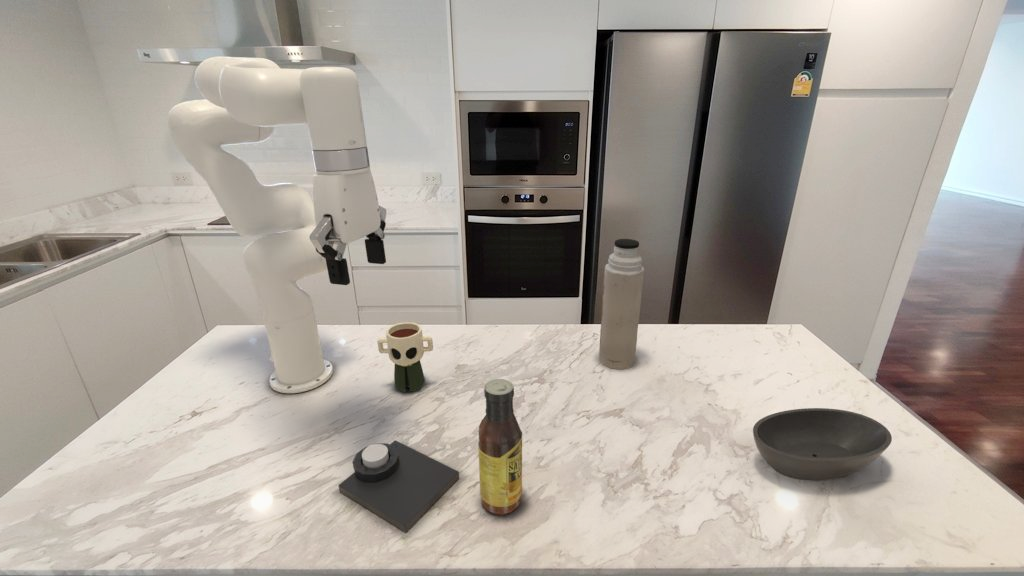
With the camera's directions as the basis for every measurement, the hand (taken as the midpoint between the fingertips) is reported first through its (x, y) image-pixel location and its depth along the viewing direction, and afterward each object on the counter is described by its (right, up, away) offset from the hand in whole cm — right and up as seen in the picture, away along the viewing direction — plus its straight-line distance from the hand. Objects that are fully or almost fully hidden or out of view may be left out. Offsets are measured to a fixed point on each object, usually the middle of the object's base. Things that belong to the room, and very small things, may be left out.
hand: (359, 272), depth 75 cm
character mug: (+3, -23, +25) cm, 34 cm away
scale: (+7, -33, -1) cm, 34 cm away
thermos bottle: (+48, -19, +33) cm, 61 cm away
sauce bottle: (+22, -34, -3) cm, 41 cm away
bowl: (+73, -31, +3) cm, 79 cm away
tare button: (+2, -30, +1) cm, 30 cm away
